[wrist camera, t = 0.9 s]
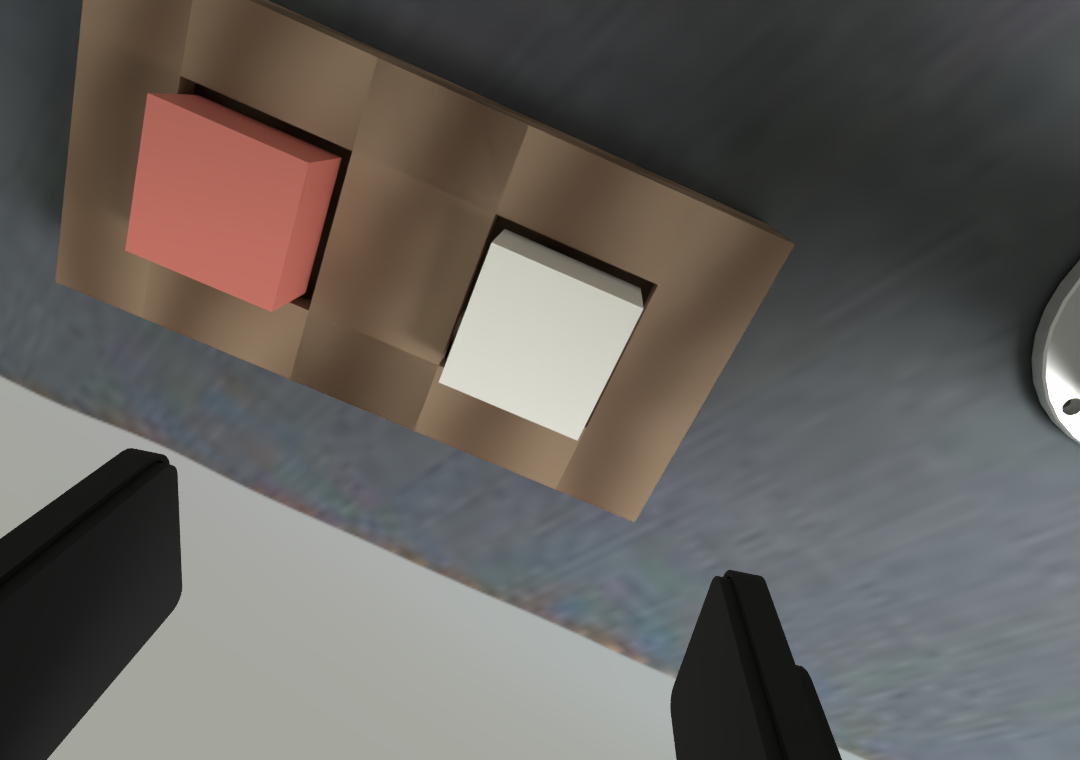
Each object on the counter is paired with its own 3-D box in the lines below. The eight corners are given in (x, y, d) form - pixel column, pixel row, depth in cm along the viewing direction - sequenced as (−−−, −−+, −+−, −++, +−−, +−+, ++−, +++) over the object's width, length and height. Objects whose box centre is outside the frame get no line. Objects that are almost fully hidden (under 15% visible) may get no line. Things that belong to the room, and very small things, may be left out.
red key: (341, 157, 26) (309, 162, 23) (305, 292, 28) (271, 312, 25) (198, 94, 25) (147, 92, 23) (173, 236, 28) (124, 250, 25)
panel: (767, 223, 29) (795, 244, 25) (632, 468, 35) (634, 522, 30) (177, -41, 28) (90, -72, 23) (132, 258, 33) (55, 281, 29)
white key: (640, 288, 26) (643, 308, 24) (581, 409, 29) (577, 440, 26) (504, 228, 26) (491, 242, 23) (455, 356, 28) (438, 382, 26)
